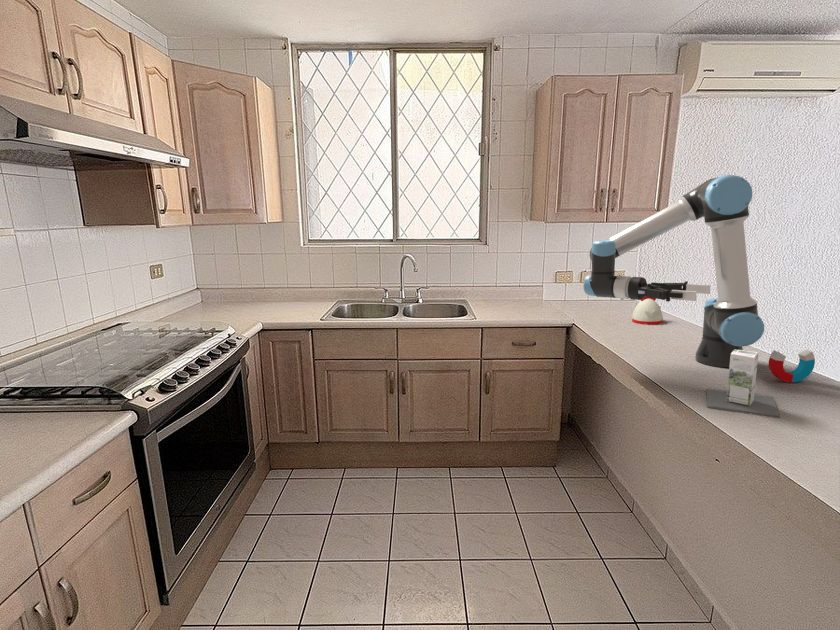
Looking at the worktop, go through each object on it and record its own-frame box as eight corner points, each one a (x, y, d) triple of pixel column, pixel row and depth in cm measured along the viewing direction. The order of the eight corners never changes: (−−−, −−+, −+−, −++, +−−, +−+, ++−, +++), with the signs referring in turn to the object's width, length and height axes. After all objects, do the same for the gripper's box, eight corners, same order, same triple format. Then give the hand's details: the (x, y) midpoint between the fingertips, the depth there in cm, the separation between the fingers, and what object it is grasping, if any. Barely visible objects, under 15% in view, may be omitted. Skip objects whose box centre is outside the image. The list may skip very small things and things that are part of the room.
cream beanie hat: (666, 324, 220) (668, 294, 217) (636, 325, 223) (637, 294, 220) (657, 318, 234) (658, 289, 230) (628, 318, 236) (629, 290, 233)
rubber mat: (707, 390, 140) (707, 388, 139) (772, 398, 131) (772, 396, 131) (707, 407, 128) (707, 405, 128) (779, 417, 120) (779, 415, 119)
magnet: (806, 379, 144) (810, 349, 142) (812, 382, 141) (816, 351, 139) (766, 380, 145) (769, 350, 143) (772, 383, 142) (775, 352, 140)
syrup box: (754, 400, 129) (759, 351, 126) (750, 407, 125) (755, 356, 122) (730, 395, 133) (734, 348, 130) (725, 402, 129) (730, 353, 126)
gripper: (645, 293, 161) (714, 298, 146) (614, 305, 144) (688, 312, 129) (646, 272, 159) (716, 275, 144) (615, 281, 143) (690, 286, 128)
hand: (703, 292), depth 137 cm, fingers open, 13 cm apart
